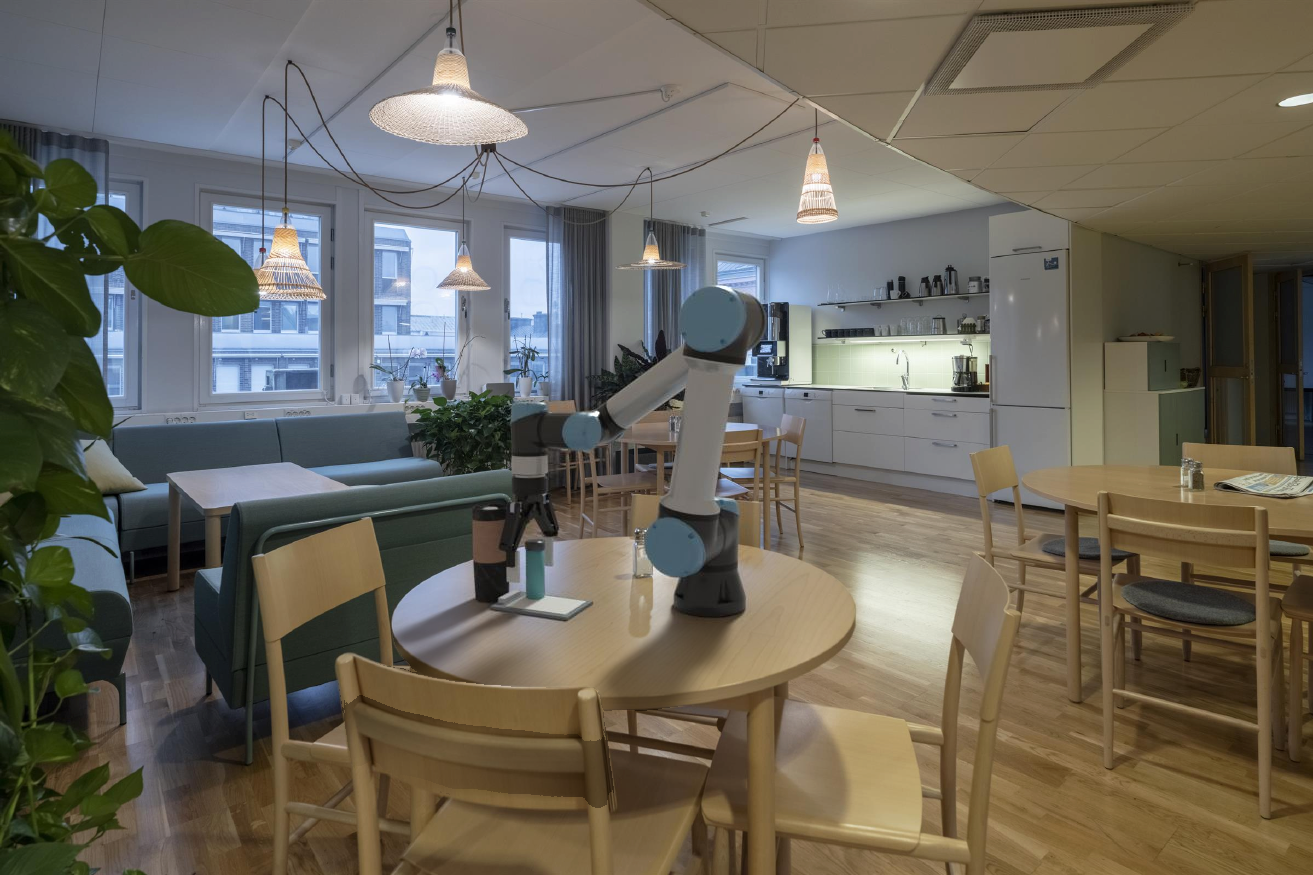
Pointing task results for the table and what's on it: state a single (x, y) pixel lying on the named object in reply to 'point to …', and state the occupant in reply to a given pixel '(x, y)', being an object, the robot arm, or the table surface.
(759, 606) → the table surface
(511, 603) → the clipboard
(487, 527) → the travel mug
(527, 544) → the marker
